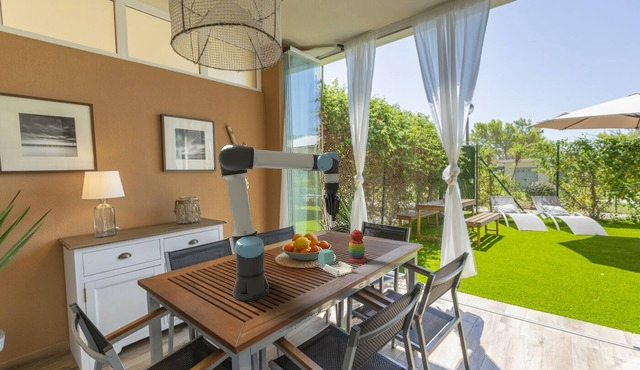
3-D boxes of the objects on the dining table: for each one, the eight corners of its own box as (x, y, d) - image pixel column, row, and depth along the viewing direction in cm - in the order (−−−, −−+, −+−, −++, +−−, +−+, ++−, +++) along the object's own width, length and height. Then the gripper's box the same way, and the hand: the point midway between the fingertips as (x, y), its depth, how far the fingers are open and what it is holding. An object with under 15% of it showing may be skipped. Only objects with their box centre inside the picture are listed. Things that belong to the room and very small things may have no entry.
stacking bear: (366, 264, 157) (365, 232, 156) (347, 263, 159) (347, 231, 158) (366, 257, 168) (365, 228, 167) (349, 257, 170) (348, 227, 169)
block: (324, 266, 152) (324, 253, 152) (318, 263, 157) (318, 250, 157) (333, 263, 156) (333, 251, 155) (327, 261, 161) (327, 248, 160)
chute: (337, 276, 140) (337, 270, 139) (315, 265, 156) (315, 260, 156) (353, 272, 145) (353, 266, 145) (330, 262, 162) (330, 256, 162)
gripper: (345, 182, 144) (345, 228, 146) (330, 181, 155) (331, 224, 157) (333, 182, 140) (333, 230, 142) (319, 182, 151) (319, 226, 153)
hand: (332, 227), depth 149 cm, fingers closed
